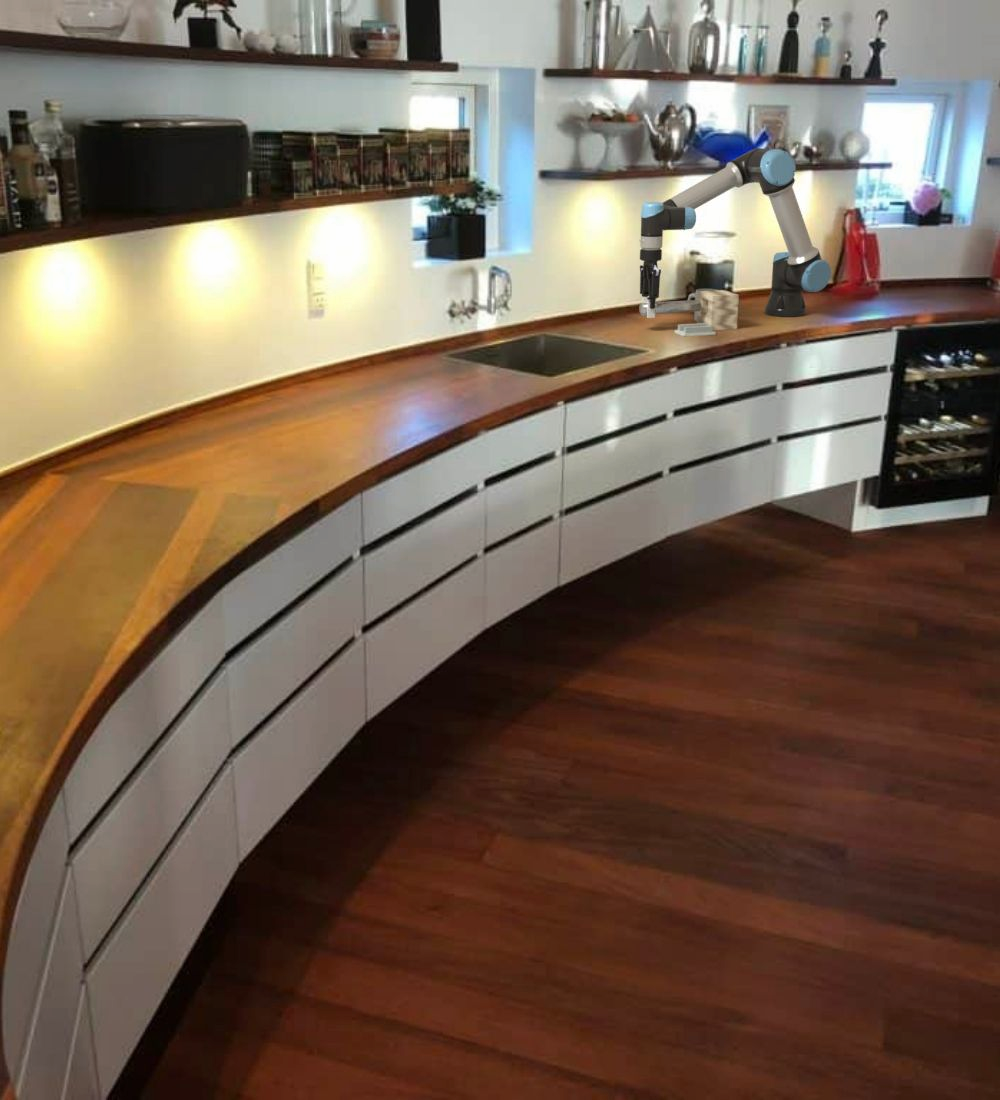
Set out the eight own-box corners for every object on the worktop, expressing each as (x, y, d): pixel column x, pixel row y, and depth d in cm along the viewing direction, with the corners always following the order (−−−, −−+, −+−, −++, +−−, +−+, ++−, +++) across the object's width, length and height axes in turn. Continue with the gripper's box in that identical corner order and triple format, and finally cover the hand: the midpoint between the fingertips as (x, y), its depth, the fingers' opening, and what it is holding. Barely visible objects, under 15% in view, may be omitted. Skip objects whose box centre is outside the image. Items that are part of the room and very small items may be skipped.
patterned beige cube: (721, 323, 442) (723, 289, 438) (736, 328, 432) (738, 294, 427) (696, 324, 440) (698, 291, 436) (710, 330, 429) (712, 296, 425)
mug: (721, 319, 449) (723, 289, 446) (710, 323, 443) (712, 292, 439) (692, 316, 456) (693, 287, 452) (681, 319, 450) (683, 289, 446)
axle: (696, 310, 433) (696, 299, 432) (701, 311, 430) (701, 300, 429) (639, 314, 428) (639, 302, 427) (643, 315, 424) (643, 303, 423)
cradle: (705, 330, 428) (706, 322, 427) (715, 334, 421) (716, 326, 420) (674, 332, 425) (674, 324, 424) (683, 336, 418) (684, 328, 417)
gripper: (631, 246, 426) (629, 313, 434) (650, 251, 410) (647, 321, 418) (651, 245, 428) (648, 312, 436) (671, 251, 412) (667, 320, 420)
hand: (648, 316), depth 427 cm, fingers closed on axle, 4 cm apart
